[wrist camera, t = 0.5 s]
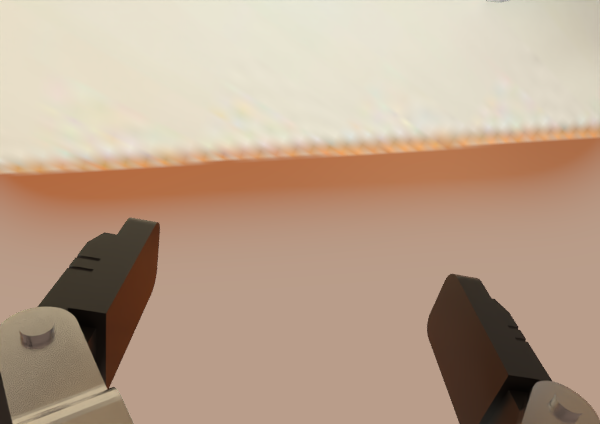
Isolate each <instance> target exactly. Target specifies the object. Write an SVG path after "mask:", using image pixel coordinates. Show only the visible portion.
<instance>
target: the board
mask: <svg viewBox="0 0 600 424" xmlns="http://www.w3.org/2000/svg"><path fill="white" fill-rule="evenodd" d="M486 1H491V2H504V1H508V0H486Z"/></svg>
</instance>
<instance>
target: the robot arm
mask: <svg viewBox="0 0 600 424" xmlns="http://www.w3.org/2000/svg"><path fill="white" fill-rule="evenodd" d="M159 233H160V225H159V223H158V222H152V221H147V220H141V219H135V218H129V219H128V220H127V221H126V223H125V224H124V225H123V227H122V228H121V230H120V231H119V233H118V234H117V235H115V234H110V233H103V234H101V235H99V236H98V237H96V238H94V239H92V240H91V241H89V242H87V244H86V245H85V246H84V247H83V249H82V250H81V251H80V253H79V254H78V256H77V258H75V259H74V260H73V262H72V263H71V264H70V266H69V268H67V269H66V271H65V272H64V273H63V275H62V276H61V277H60V279H59V280H58V281H57V282H56V284H55V285H54V286H53V288H52V289H51V290H50V291H49V293H48V294H47V295H46V297H45V298H44V299H43V301H42V302H41V303H40V304H39V306H38V307H36V308H30V309H27V310H24V311H21V312H18V313H16V314H14V315H12V316H11V317H9V318H8V319H6V320H5V321H4V322H3V323H2V324H0V424H133V421H132V419H131V417H130V415H129V412H128V410H127V408H126V406H125V404H124V401H123V399H122V397H121V395H120V393H119V392H118V390H117V389H116V388H115V387H112V388H110V389H109V386H110V384H111V382H112V380H113V378H114V376H115V373H116V371H117V369H118V367H119V364H120V362H121V360H122V358H123V355H124V353H125V351H126V349H127V347H128V344H129V342H130V340H131V338H132V336H133V333H134V331H135V329H136V327H137V324H138V322H139V320H140V318H141V315H142V313H143V311H144V309H145V307H146V304H147V302H148V300H149V298H150V296H151V293H152V290H153V287H154V284H155V279H156V274H157V262H158V248H159ZM427 333H428V337H429V341H430V343H431V346H432V349H433V352H434V355H435V357H436V360H437V363H438V365H439V368H440V371H441V374H442V376H443V379H444V382H445V385H446V387H447V390H448V393H449V396H450V399H451V401H452V404H453V407H454V410H455V412H456V415H457V418H458V421H459V423H460V424H600V420H599V417H598V415H597V414H596V412H595V411H594V409H593V408H592V407H591V405H590V404H589V403H588V402H587V401H586V400H585V399H583V398H582V397H581V396H580V395H579V394H577V393H576V392H574V391H573V390H571V389H570V388H568V387H566V386H564V385H562V384H559V383H556V382H553V381H552V380H551V378H550V377H549V375H548V374H547V372H546V371H545V369H544V367H543V366H542V364H541V363H540V361H539V359H538V358H537V356H536V355H535V353H534V352H533V350H532V348H531V347H530V345H529V343H528V342H526V341H525V340H526V339H525V337H524V336H523V334H522V333H521V331H520V330H518V326H517V324H516V323H515V322H514V320H513V318H512V317H511V315H510V313H509V312H508V311H507V310H506V309H505V308H504V307H503V306H501V305H500V304H499V303H498V302H497V301H496V300H495V299H492V298H491V297H490V296H489V294H488V292H487V290H486V289H485V287H484V285H483V284H482V282H481V281H480V280H479V279H478V278H473V277H467V276H461V275H455V274H450V275H449V276H448V277H447V278H446V280H445V282H444V284H443V286H442V288H441V291H440V293H439V295H438V298H437V300H436V302H435V304H434V306H433V308H432V311H431V313H430V315H429V318H428V324H427Z"/></svg>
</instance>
